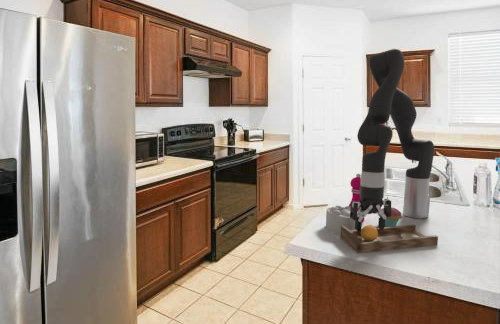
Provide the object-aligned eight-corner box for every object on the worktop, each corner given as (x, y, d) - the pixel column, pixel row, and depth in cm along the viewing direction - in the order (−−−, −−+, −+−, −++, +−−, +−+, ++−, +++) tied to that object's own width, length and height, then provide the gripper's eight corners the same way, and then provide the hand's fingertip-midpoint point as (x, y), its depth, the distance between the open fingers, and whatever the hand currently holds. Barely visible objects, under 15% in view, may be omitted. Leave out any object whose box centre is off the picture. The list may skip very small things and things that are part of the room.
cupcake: (390, 230, 127) (392, 200, 125) (373, 223, 134) (374, 194, 132) (405, 226, 131) (407, 197, 129) (387, 220, 138) (389, 192, 136)
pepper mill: (366, 223, 134) (369, 175, 131) (348, 222, 136) (350, 175, 132) (364, 218, 141) (366, 172, 138) (346, 217, 143) (348, 171, 139)
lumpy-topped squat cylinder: (347, 237, 120) (348, 214, 119) (319, 227, 130) (320, 206, 129) (363, 231, 126) (364, 209, 125) (336, 222, 136) (336, 201, 135)
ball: (371, 237, 117) (372, 222, 116) (380, 243, 112) (381, 227, 111) (357, 238, 116) (358, 223, 115) (366, 245, 111) (366, 229, 110)
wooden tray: (413, 232, 125) (414, 219, 124) (437, 244, 113) (438, 230, 112) (340, 239, 119) (340, 225, 118) (358, 253, 107) (358, 238, 106)
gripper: (384, 180, 116) (381, 224, 119) (347, 182, 113) (345, 228, 116) (398, 185, 109) (395, 232, 111) (358, 188, 106) (356, 236, 108)
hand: (369, 229), depth 114 cm, fingers open, 8 cm apart
